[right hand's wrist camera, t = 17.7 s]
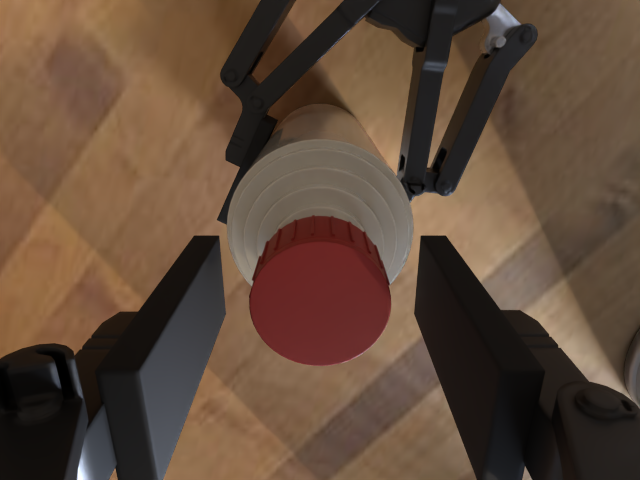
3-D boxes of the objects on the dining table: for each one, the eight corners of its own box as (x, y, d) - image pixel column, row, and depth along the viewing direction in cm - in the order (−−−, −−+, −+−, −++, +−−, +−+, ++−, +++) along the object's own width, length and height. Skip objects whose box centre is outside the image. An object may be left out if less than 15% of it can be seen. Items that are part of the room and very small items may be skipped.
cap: (409, 270, 14) (423, 304, 12) (322, 348, 15) (322, 391, 13) (317, 186, 13) (316, 208, 11) (231, 276, 14) (217, 310, 12)
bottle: (298, 219, 35) (267, 432, 15) (251, 131, 32) (139, 242, 12) (385, 178, 34) (485, 348, 13) (344, 84, 31) (389, 121, 11)
